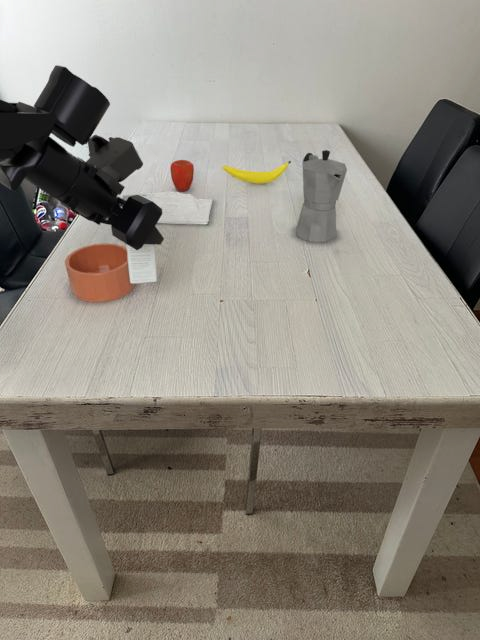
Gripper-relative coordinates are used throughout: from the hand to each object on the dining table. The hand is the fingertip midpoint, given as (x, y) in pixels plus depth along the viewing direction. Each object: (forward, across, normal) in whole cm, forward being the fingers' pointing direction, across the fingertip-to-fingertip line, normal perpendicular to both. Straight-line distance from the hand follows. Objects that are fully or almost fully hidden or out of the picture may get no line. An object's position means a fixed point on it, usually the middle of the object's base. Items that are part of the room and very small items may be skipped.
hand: (147, 233), depth 67 cm
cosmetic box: (+4, 0, +6) cm, 7 cm away
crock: (+7, +12, +11) cm, 18 cm away
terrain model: (+27, +31, -9) cm, 42 cm away
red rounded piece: (+36, +40, -18) cm, 57 cm away
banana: (+48, +30, -30) cm, 64 cm away
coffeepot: (+39, 0, -21) cm, 45 cm away
